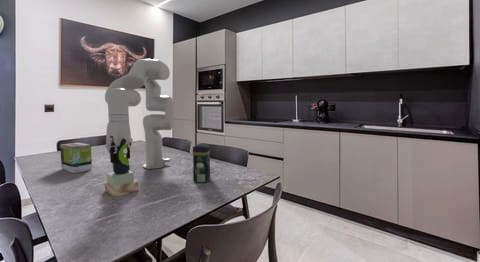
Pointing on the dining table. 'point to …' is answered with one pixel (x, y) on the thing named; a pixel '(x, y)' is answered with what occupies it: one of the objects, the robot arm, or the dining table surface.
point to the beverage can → (121, 158)
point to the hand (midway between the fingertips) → (120, 160)
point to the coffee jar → (201, 163)
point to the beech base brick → (121, 188)
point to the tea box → (76, 157)
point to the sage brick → (120, 178)
